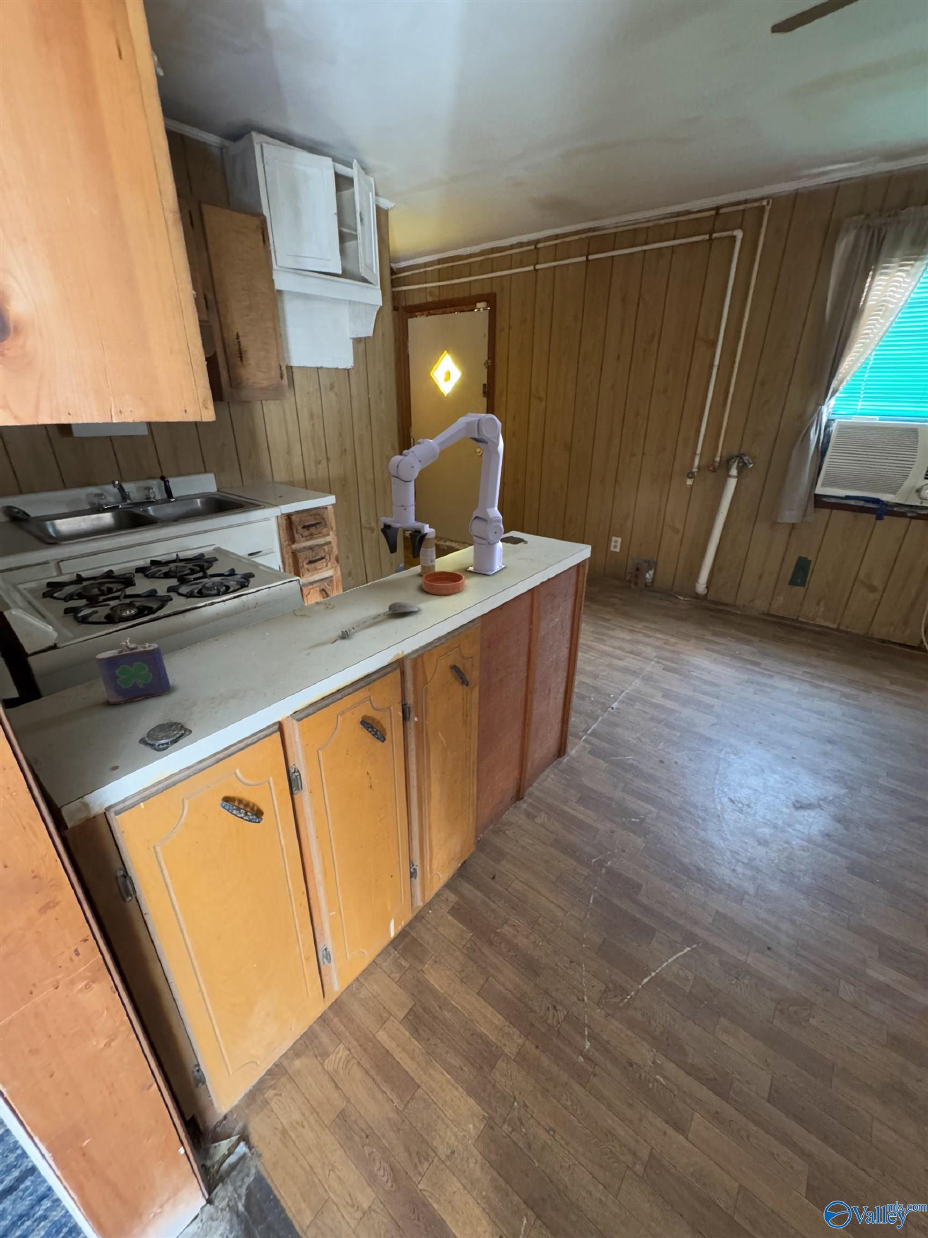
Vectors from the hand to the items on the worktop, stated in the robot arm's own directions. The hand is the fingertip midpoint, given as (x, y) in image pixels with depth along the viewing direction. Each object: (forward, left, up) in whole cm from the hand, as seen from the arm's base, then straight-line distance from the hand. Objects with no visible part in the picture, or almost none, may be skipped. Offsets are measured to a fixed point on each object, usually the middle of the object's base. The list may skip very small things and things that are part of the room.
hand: (404, 555), depth 135 cm
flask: (+69, -5, -9) cm, 70 cm away
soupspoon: (+23, +10, -9) cm, 26 cm away
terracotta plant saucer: (-4, +10, -9) cm, 14 cm away
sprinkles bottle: (-11, 0, -9) cm, 14 cm away
